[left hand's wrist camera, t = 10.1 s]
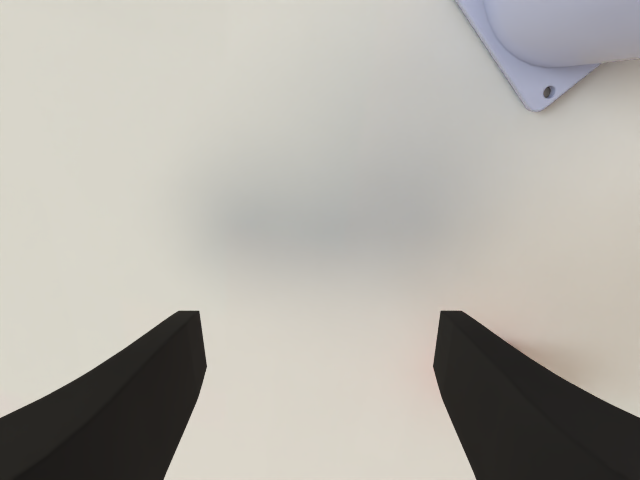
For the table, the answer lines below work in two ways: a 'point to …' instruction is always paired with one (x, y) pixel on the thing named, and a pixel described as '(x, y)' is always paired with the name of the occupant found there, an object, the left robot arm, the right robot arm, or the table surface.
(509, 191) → the table surface
